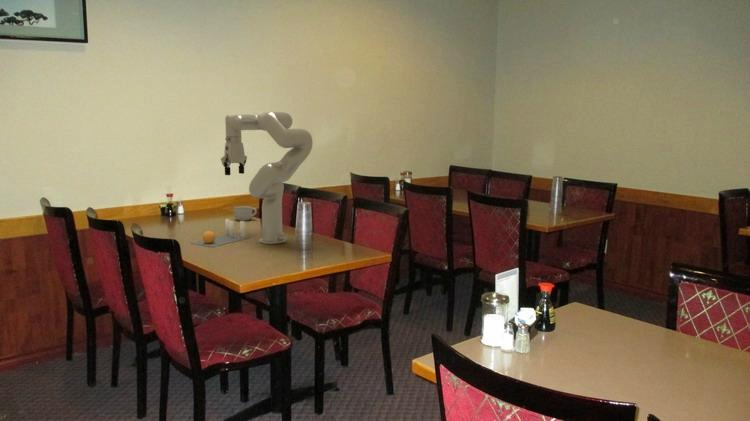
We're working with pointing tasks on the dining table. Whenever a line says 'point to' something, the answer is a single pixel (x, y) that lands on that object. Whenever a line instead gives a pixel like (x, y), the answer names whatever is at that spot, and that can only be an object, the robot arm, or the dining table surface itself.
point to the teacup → (244, 213)
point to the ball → (209, 237)
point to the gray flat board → (220, 241)
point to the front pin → (231, 229)
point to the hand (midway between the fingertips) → (234, 174)
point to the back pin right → (227, 226)
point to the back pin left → (242, 229)
